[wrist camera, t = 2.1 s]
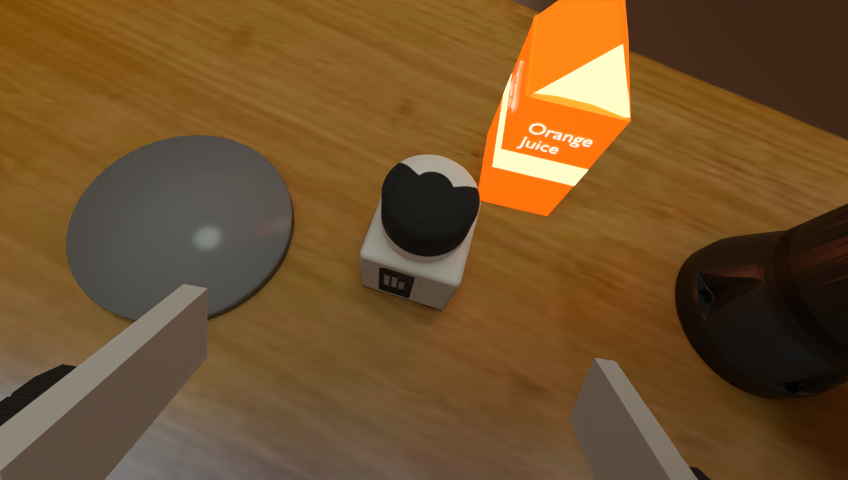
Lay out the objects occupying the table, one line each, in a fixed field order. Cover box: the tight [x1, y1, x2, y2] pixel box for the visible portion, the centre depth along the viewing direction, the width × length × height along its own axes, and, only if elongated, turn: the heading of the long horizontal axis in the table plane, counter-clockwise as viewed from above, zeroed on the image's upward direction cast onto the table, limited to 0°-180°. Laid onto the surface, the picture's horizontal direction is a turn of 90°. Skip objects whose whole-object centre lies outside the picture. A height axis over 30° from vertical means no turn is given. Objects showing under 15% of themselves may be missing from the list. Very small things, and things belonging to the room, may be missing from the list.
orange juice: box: [478, 0, 631, 216], centre depth 33 cm, size 8×9×20 cm
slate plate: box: [66, 135, 294, 321], centre depth 35 cm, size 18×18×2 cm
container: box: [360, 155, 481, 309], centre depth 31 cm, size 8×8×13 cm
